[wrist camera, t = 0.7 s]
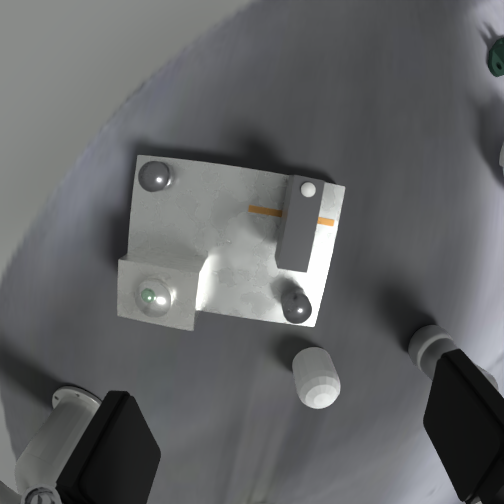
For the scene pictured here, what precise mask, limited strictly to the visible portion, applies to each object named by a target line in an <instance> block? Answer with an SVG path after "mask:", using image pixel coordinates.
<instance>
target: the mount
mask: <svg viewBox="0 0 504 504" xmlns="http://www.w3.org/2000/svg"><path fill="white" fill-rule="evenodd" d="M496 65H497V66H496ZM488 67H489V70H490V72H491V73H492V74H493V75H494V76H495V77H499V76H502V75H504V37H503V38H501V39H499V40H497V41H496V43H495V44H494V45H493V47H492V48H491V50H490V51H489V60H488ZM497 67H498V68H497Z"/></svg>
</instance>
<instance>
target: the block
mask: <svg viewBox="0 0 504 504" xmlns="http://www.w3.org/2000/svg"><path fill="white" fill-rule="evenodd" d="M324 185H325V181H324V180H319V179H314V178H309V177H304V176H298V175H289V178H288V184H287V190H286V195H285V201H284V207H283V212H282V218H281V223H280V229H279V234H278V240H277V245H276V251H275V256H274V257H275V261H276V265H277V268H278V269H284V270H291V271H297V272H304V273H307V270H308V266H309V261H310V256H311V252H312V247H313V242H314V237H315V232H316V227H317V222H318V217H319V212H320V206H321V201H322V196H323V190H324Z"/></svg>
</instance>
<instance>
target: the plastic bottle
mask: <svg viewBox="0 0 504 504" xmlns="http://www.w3.org/2000/svg"><path fill="white" fill-rule="evenodd" d="M455 349H459V348H458V347H457V345H456V344H455V343H454V341H453V340H452V338H451V336H450V335H449V334H448V332H447V331H446V330H445V329H443V328H441V327H439V326H437V325H428V326H424V327H422V328H420V329H419V330H417V331H416V332H415V334H414V335H413V336H412V338H411V340H410V343H409V348H408V352H409V356H410V358H411V360H412V362H413V364H414V365H415V366H416V367H417V368H418V369H420V370H421V371H422V372H424V373H425V374H426V375H427V376H428V377H429V378H430V379H431V380H432V381H433V377H434V372H435V367H436V362H437V360H438V359H440V358H441V355H442V354H443V353H445V352H448V351H451V350H455ZM473 363H474V362H473ZM474 364H475V363H474ZM475 365H476V364H475ZM476 367H477V368H478V369H479V370H480V371H481V372H482V373H483V375H484V376H485V377H486V378H487V379H488V380H489V381H490V383H491V384H492V385H493V386H494V387H495V388H496V390H497V391H498V392H499V390H498V384H497V382H496V380H495V378H494V377H493V376H492V375H491V374H490V373H488V372H487V371H485V370H484V369H482V368H481V367H479V366H478V365H476Z"/></svg>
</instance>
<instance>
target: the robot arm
mask: <svg viewBox="0 0 504 504" xmlns="http://www.w3.org/2000/svg"><path fill="white" fill-rule="evenodd" d="M52 405H53V408H54V410H53V411H52V412H51V414H50V415H49V417H48V418H47V419H46V421H45V422H44V423H43V425H42V426H41V428H40V429H39V430H38V432H37V433H36V435H35V436H34V437H33V439H32V440H31V442H30V443H29V444H28V446H27V447H26V449H25V450H24V452H23V453H22V455H21V456H20V458H19V459H18V461H17V463H16V466H15V480H16V485H17V489H18V494H17V493H16V492H14V491H13V490H11V489H10V488H9V487H7V486H6V485H5V484H4V483H3V482H1V481H0V504H146V503H147V500H148V496H149V493H150V490H151V487H152V484H153V480H154V477H155V474H156V471H157V468H158V464H159V461H160V458H161V452H160V449H159V447H158V445H157V443H156V441H155V439H154V437H153V435H152V433H151V431H150V429H149V427H148V425H147V423H146V421H145V419H144V417H143V415H142V413H141V411H140V409H139V406H138V404H137V402H136V400H135V398H134V397H133V396H130V394H129V393H128V392H126V391H109V392H108V393H107V395H106V396H105V398H104V400H103V401H102V402H101V401H100V400H99V399H98V398H96V397H95V396H93V395H92V394H90V393H88V392H86V391H85V390H82V389H80V388H76V387H72V386H64V387H61V388H59V389H58V390H57V391H56V392H55V393H54V395H53V398H52ZM423 424H424V428H425V430H426V432H427V434H428V436H429V438H430V439H431V441H432V443H433V445H434V447H435V449H436V451H437V453H438V455H439V457H440V459H441V461H442V464H443V466H444V468H445V470H446V472H447V474H448V476H449V478H450V480H451V482H452V485H453V487H454V489H455V491H456V493H457V495H458V498H459V499H460V500H461V501H462V502H464V501H465V503H466V504H475V503H477V502H479V501H481V502H482V504H504V398H503V397H502V396H501V394H500V393H499V392H498V391H497V390H496V388H495V387H494V386H493V385H492V384H491V383H490V381H489V380H488V379H487V378H486V377H485V376H484V375H483V373H482V372H481V371H480V370H479V369H478V368H477V367H476V365H475V364H474V363H473V362H472V361H471V360H470V359H469V358H468V357H467V355H466V354H465V353H464V352H463V351H462V350H461V349H455V350H451V351H448V352H445V353H443V354H442V355H441V358H440V359H438V360H437V362H436V367H435V372H434V377H433V382H432V386H431V390H430V395H429V399H428V403H427V407H426V410H425V414H424V418H423Z"/></svg>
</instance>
